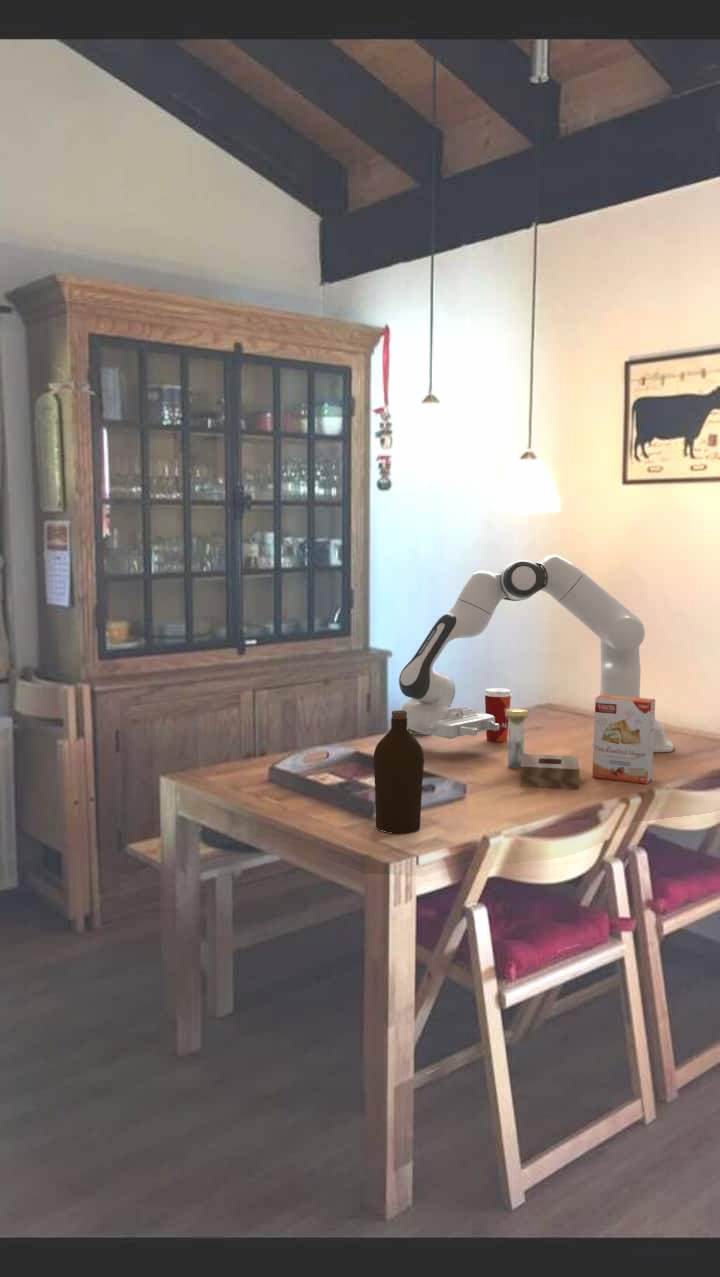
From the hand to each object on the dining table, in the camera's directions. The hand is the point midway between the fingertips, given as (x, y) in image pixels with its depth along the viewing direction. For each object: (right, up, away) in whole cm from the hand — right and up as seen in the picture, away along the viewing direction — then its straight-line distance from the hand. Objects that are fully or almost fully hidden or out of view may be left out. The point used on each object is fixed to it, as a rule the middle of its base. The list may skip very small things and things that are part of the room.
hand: (486, 729), depth 281 cm
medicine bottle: (-15, -4, +37) cm, 41 cm away
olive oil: (-26, -16, -61) cm, 68 cm away
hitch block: (+13, -11, -21) cm, 27 cm away
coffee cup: (+6, -6, +27) cm, 28 cm away
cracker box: (+32, -11, -18) cm, 38 cm away
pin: (+7, -9, -6) cm, 13 cm away
